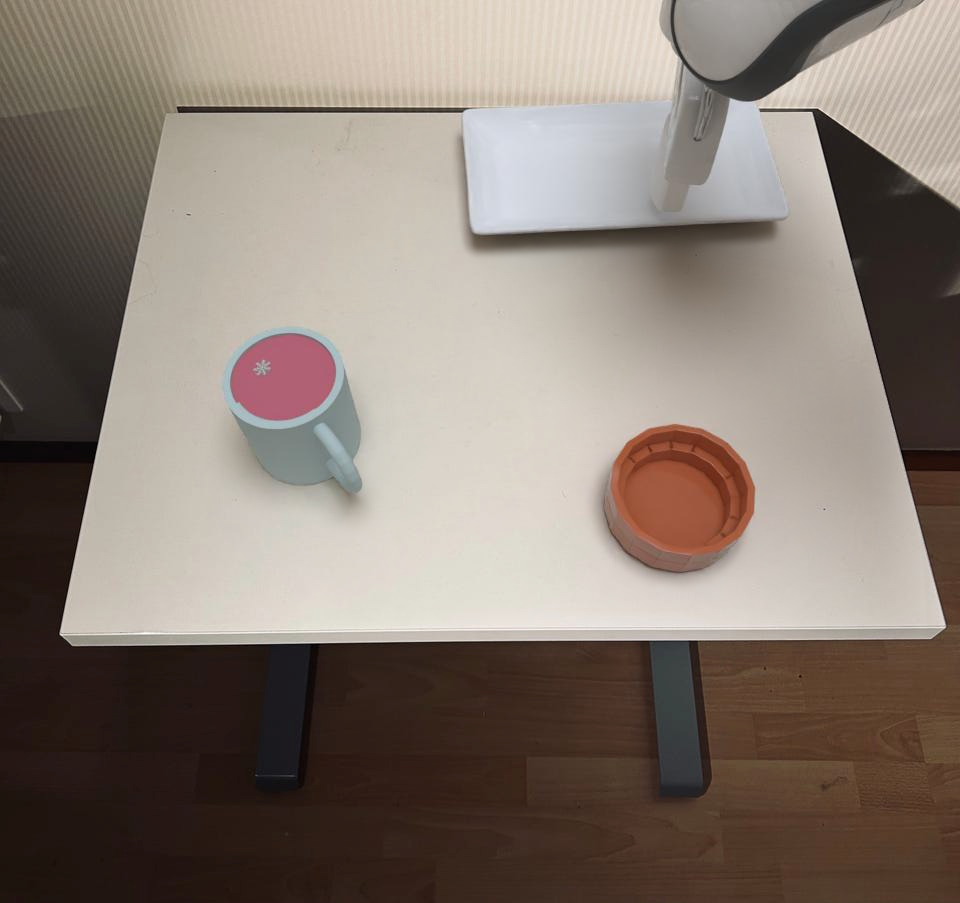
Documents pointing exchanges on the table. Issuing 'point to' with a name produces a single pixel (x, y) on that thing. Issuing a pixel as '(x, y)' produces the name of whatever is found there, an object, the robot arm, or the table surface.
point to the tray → (606, 169)
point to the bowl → (678, 497)
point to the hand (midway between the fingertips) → (679, 148)
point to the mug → (295, 406)
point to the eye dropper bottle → (661, 190)
